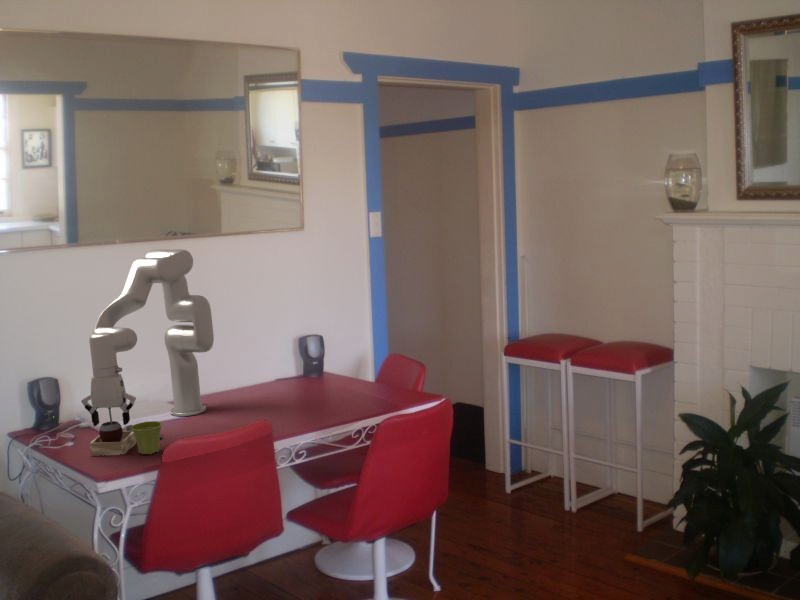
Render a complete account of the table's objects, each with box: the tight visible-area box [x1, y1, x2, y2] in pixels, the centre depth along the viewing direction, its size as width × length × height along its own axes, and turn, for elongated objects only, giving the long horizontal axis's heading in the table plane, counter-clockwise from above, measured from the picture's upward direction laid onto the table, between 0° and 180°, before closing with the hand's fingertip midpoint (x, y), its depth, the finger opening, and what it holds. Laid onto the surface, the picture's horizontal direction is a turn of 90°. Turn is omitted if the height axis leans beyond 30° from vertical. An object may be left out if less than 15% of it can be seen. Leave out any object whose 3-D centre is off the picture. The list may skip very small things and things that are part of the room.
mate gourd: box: [98, 408, 124, 442], centre depth 299 cm, size 8×8×15 cm
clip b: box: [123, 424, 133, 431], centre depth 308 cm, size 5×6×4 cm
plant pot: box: [131, 420, 163, 455], centre depth 295 cm, size 9×9×9 cm
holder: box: [89, 430, 137, 457], centre depth 300 cm, size 12×11×4 cm
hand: (111, 424), depth 299 cm, fingers open, 9 cm apart
